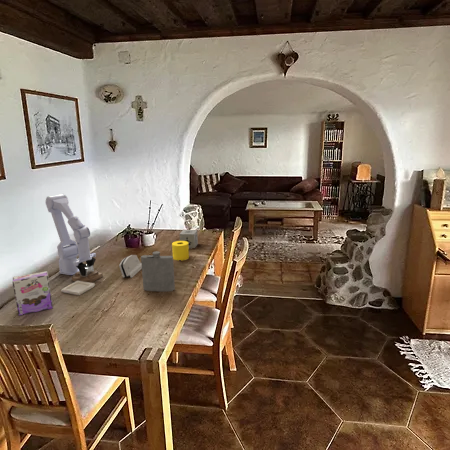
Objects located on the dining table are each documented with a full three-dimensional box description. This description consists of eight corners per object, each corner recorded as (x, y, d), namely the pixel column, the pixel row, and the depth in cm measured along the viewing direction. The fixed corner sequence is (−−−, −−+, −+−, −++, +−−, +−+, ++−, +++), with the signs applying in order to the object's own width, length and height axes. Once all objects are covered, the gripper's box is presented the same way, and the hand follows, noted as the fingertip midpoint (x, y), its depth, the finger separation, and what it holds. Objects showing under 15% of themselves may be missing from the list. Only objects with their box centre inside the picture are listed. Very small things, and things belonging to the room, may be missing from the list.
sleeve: (80, 276, 189) (78, 267, 188) (86, 272, 194) (85, 264, 192) (87, 277, 187) (86, 268, 186) (94, 273, 192) (93, 265, 191)
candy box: (18, 316, 153) (11, 281, 149) (18, 310, 158) (12, 276, 154) (53, 308, 159) (47, 274, 155) (52, 303, 164) (47, 270, 160)
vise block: (70, 280, 189) (69, 270, 188) (83, 273, 198) (82, 264, 197) (89, 283, 184) (88, 274, 183) (102, 276, 193) (101, 267, 192)
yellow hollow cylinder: (187, 260, 215) (187, 245, 212) (171, 260, 215) (170, 245, 213) (189, 254, 225) (189, 240, 222) (174, 254, 225) (173, 240, 222)
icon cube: (183, 243, 247) (183, 229, 244) (197, 243, 246) (197, 230, 243) (180, 248, 237) (179, 233, 235) (194, 248, 236) (194, 234, 233)
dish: (61, 292, 175) (61, 289, 175) (78, 283, 185) (77, 280, 185) (79, 295, 172) (78, 292, 171) (94, 286, 182) (94, 283, 181)
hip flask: (175, 288, 178) (173, 251, 172) (173, 292, 174) (171, 253, 168) (144, 287, 179) (141, 250, 174) (142, 291, 175) (139, 253, 170)
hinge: (131, 278, 191) (124, 261, 189) (124, 280, 192) (116, 263, 190) (144, 266, 207) (137, 250, 205) (137, 268, 208) (130, 253, 206)
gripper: (79, 255, 179) (83, 279, 182) (99, 246, 192) (102, 269, 195) (69, 253, 181) (72, 277, 185) (89, 244, 194) (91, 267, 198)
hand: (86, 273), depth 190 cm, fingers closed on sleeve, 5 cm apart
